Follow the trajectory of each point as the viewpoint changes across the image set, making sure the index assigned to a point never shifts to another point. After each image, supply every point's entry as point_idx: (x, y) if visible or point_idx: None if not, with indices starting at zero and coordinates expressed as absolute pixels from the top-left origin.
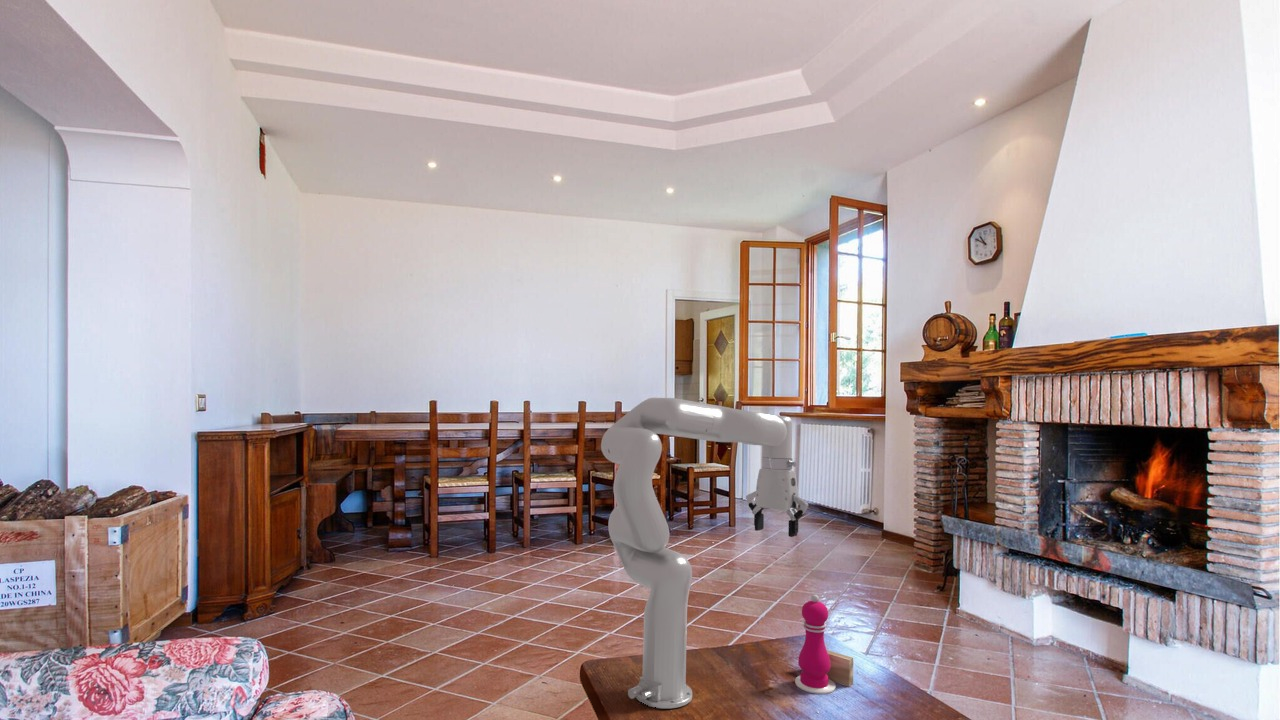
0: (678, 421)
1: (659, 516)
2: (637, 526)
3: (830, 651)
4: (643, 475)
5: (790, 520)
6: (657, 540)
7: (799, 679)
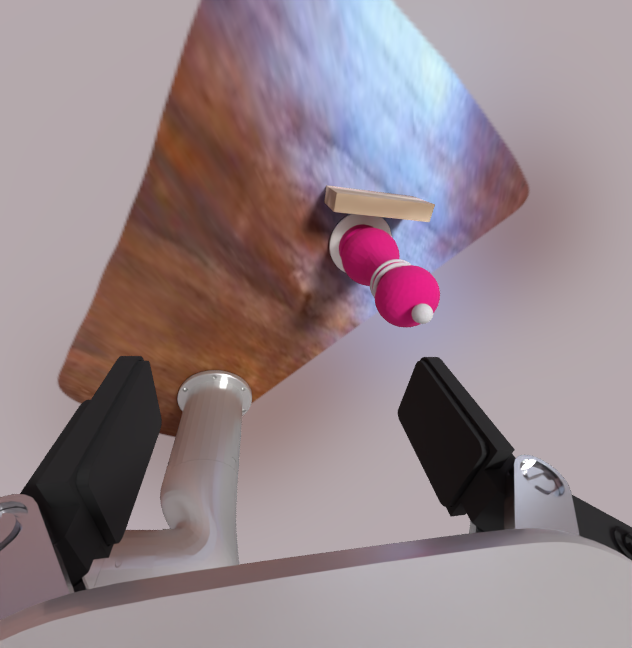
0: None
1: None
2: None
3: (390, 202)
4: None
5: (461, 512)
6: None
7: (336, 251)
